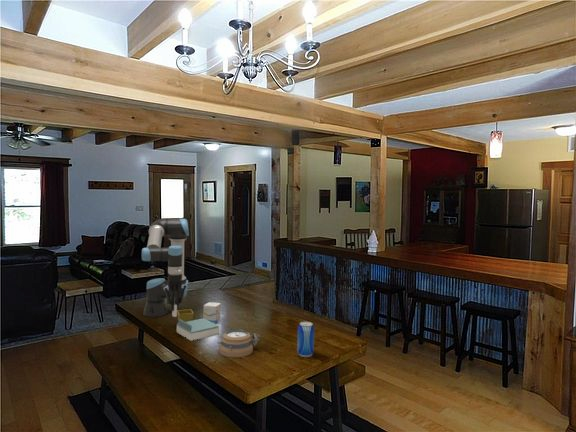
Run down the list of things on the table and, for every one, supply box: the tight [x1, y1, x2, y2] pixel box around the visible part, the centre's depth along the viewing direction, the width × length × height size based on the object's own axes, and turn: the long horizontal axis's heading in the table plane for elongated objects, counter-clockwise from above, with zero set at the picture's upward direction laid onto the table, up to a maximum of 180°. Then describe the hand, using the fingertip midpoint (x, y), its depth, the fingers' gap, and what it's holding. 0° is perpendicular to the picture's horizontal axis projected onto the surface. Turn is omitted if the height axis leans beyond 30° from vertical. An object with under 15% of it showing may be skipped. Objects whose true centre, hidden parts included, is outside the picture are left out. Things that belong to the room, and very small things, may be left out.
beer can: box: [296, 321, 315, 358], centre depth 196 cm, size 8×8×16 cm
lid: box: [176, 318, 220, 333], centre depth 224 cm, size 18×17×4 cm
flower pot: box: [177, 308, 194, 322], centre depth 236 cm, size 9×9×9 cm
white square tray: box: [176, 324, 220, 342], centre depth 224 cm, size 18×18×4 cm
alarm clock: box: [217, 329, 261, 358], centre depth 201 cm, size 17×9×23 cm
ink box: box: [202, 301, 221, 325], centre depth 245 cm, size 9×8×12 cm
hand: (174, 316), depth 213 cm, fingers closed
